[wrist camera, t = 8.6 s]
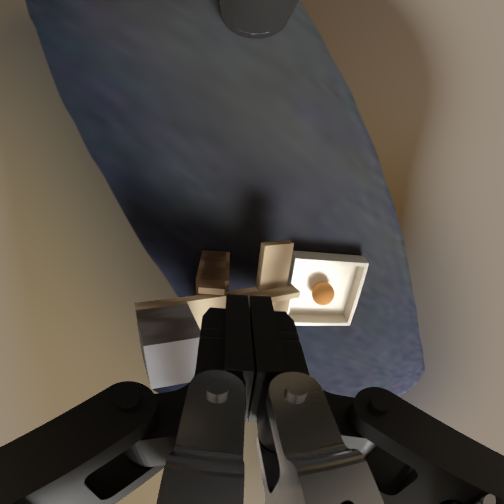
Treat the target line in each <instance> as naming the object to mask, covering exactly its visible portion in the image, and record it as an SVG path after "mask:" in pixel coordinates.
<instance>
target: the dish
mask: <svg viewBox="0 0 504 504" xmlns="http://www.w3.org/2000/svg"><path fill="white" fill-rule="evenodd" d="M368 265H369V263H368V262H367V261H366V259H365V258H364V257H363V256H360V255H347V254H334V253H321V252H307V251H294V250H293V253H292V259H291V264H290V270H289V276H288V281H287V282H290V283H291V284H292V285H293V286H294V287H295V288H297V289H298V290H299V291H300V297H299V298H294V299H290V303H289V308H288V313H287V314H288V315H289V316H290V317H291V318H292V319H293V320H294V323H295V325H299V326H350V324H351V321H352V318H353V315H354V312H355V309H356V305H357V302H358V299H359V296H360V293H361V290H362V286H363V283H364V279H365V276H366V273H367V269H368ZM323 282H324V283H328V284H330V285H331V286H332V287H333V289H334V298H333V300H332V301H331V302H330V303H329V304H327V305H319V304H317V303H316V302H315V301H314V300H313V298H312V290H313V288H314V287H315V286H316V285H317V284H319V283H323Z"/></svg>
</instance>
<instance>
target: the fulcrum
mask: <svg viewBox="0 0 504 504" xmlns="http://www.w3.org/2000/svg"><path fill="white" fill-rule="evenodd" d="M229 272H230V252H221V251H207V250H202V254H201V259H200V263H199V267H198V271H197V276H196V295H202V294H214V295H224V292H225V291H229Z"/></svg>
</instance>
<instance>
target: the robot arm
mask: <svg viewBox="0 0 504 504" xmlns="http://www.w3.org/2000/svg"><path fill="white" fill-rule="evenodd" d="M219 1H220V10H221V17H222V19H223V22H224V23H225V25H226V26H227V27H228V28H229V29H230V30H231V31H233V32H235V33H236V34H238V35H241V36H244V37H248V38H264V37H269V36H272V35H274V34H276V33H278V32H279V31H280V30H281V29H283V28H284V26H285V25H286V24H287V22H288V20H289V18H290V16H291V15H292V13H293V11H294V9H295V7H296V6H297V4H298V2H299V0H219ZM247 414H248V422H257V427H258V434H257V439H256V447H257V452H258V458H259V463H260V469H261V474H262V480H263V485H264V490H265V497H266V502H265V504H504V456H503V455H501V454H499V453H497V452H495V451H493V450H491V449H489V448H488V447H486V446H484V445H482V444H480V443H478V442H476V441H475V440H473V439H471V438H469V437H467V436H465V435H464V434H462V433H460V432H458V431H456V430H454V429H453V428H451V427H449V426H448V425H446V424H444V423H442V422H441V421H439V420H437V419H435V418H434V417H432V416H430V415H428V414H427V413H425V412H423V411H422V410H420V409H418V408H417V407H415V406H413V405H412V404H410V403H408V402H407V401H405V400H403V399H402V398H400V397H398V396H397V395H395V394H393V393H392V392H390V391H388V390H386V389H383V388H379V387H369V388H365V389H363V390H361V391H360V392H359V393H358V394H357V395H356V397H355V398H352V397H347V396H341V395H336V394H331V393H329V392H326V391H324V390H323V389H322V387H321V385H320V384H319V383H318V381H316V380H315V379H314V378H313V377H311V376H310V375H309V372H308V368H307V365H306V361H305V358H304V354H303V351H302V347H301V344H300V342H299V337H298V333H297V330H296V326H295V323H294V320H293V319H292V318H291V317H290V316H289V315H288V314H287V313H286V312H285V311H274V309H273V304H272V299H271V297H270V296H255V295H249V298H248V295H237V294H226V307H225V308H212V307H210V308H209V309H208V310H207V311H206V313H205V314H204V315H203V316H202V323H201V331H200V338H199V346H198V354H197V362H196V370H195V375H194V377H193V379H192V380H191V381H190V382H189V383H188V384H187V385H186V386H184V387H183V388H181V389H178V390H176V391H171V392H165V393H158V394H154V393H153V392H152V391H151V390H150V389H149V388H148V387H146V386H145V385H143V384H140V383H137V382H130V381H126V382H120V383H116V384H114V385H112V386H110V387H108V388H107V389H105V390H103V391H102V392H100V393H98V394H96V395H95V396H93V397H91V398H90V399H88V400H86V401H85V402H83V403H81V404H79V405H78V406H76V407H74V408H72V409H70V410H69V411H67V412H65V413H63V414H62V415H60V416H58V417H56V418H55V419H53V420H51V421H49V422H47V423H45V424H44V425H42V426H40V427H38V428H36V429H34V430H32V431H31V432H29V433H27V434H25V435H23V436H21V437H19V438H17V439H15V440H14V441H12V442H10V443H8V444H6V445H4V446H2V447H0V504H115V503H117V502H118V501H120V500H121V499H122V498H124V497H125V496H127V495H128V494H129V493H131V492H132V491H134V490H135V489H136V488H138V487H139V486H141V485H142V484H143V483H145V482H146V481H147V480H148V479H150V478H151V477H152V476H154V475H155V474H156V473H158V472H159V471H160V470H162V469H163V468H164V471H163V475H162V480H161V485H160V489H159V494H158V499H157V504H243V497H244V462H243V447H244V424H245V422H246V419H247Z"/></svg>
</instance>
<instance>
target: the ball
mask: <svg viewBox="0 0 504 504" xmlns="http://www.w3.org/2000/svg"><path fill="white" fill-rule="evenodd" d="M312 298H313V300H314V301H315V302H316V303H317V304H319V305H327V304H329V303H330V302H331V301H332V300H333V298H334V289H333V287H332V286H331V285H330V284H328V283H324V282H323V283H319V284H317V285H316V286H315V287H314V288H313V290H312Z"/></svg>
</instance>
